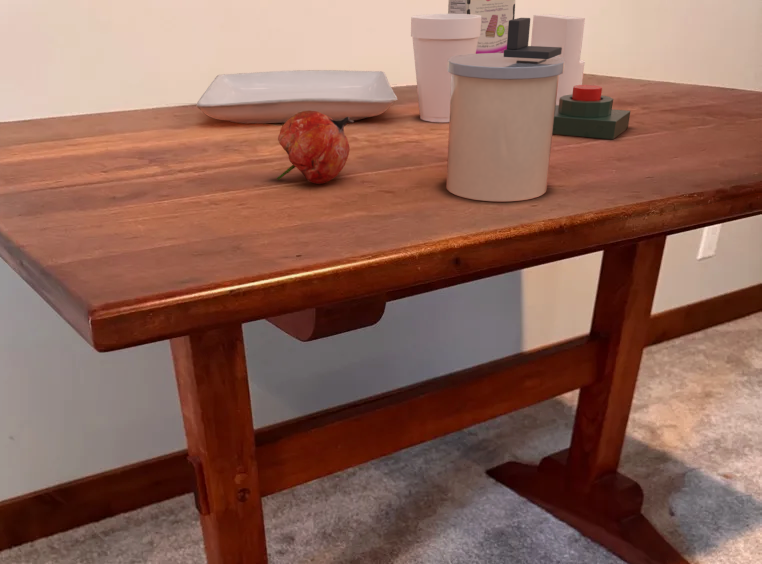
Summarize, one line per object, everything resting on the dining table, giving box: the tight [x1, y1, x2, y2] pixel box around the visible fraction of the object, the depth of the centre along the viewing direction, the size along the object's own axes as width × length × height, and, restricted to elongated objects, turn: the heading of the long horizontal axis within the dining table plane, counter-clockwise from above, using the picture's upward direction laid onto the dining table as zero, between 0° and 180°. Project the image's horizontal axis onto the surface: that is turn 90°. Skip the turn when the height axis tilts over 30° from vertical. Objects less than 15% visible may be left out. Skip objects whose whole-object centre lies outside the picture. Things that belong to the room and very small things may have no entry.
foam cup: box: [410, 13, 481, 123], centre depth 110 cm, size 10×9×13 cm
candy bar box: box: [447, 0, 516, 54], centre depth 131 cm, size 11×5×16 cm, turn 129°
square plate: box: [196, 69, 398, 124], centre depth 119 cm, size 27×27×4 cm
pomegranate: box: [276, 110, 355, 185], centre depth 82 cm, size 7×7×10 cm
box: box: [552, 94, 631, 141], centre depth 104 cm, size 10×8×4 cm
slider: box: [504, 17, 562, 59], centre depth 73 cm, size 4×4×3 cm
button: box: [572, 84, 603, 101], centre depth 102 cm, size 4×4×2 cm
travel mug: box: [445, 53, 565, 203], centre depth 78 cm, size 11×11×12 cm
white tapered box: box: [530, 13, 586, 105], centre depth 119 cm, size 9×9×12 cm
